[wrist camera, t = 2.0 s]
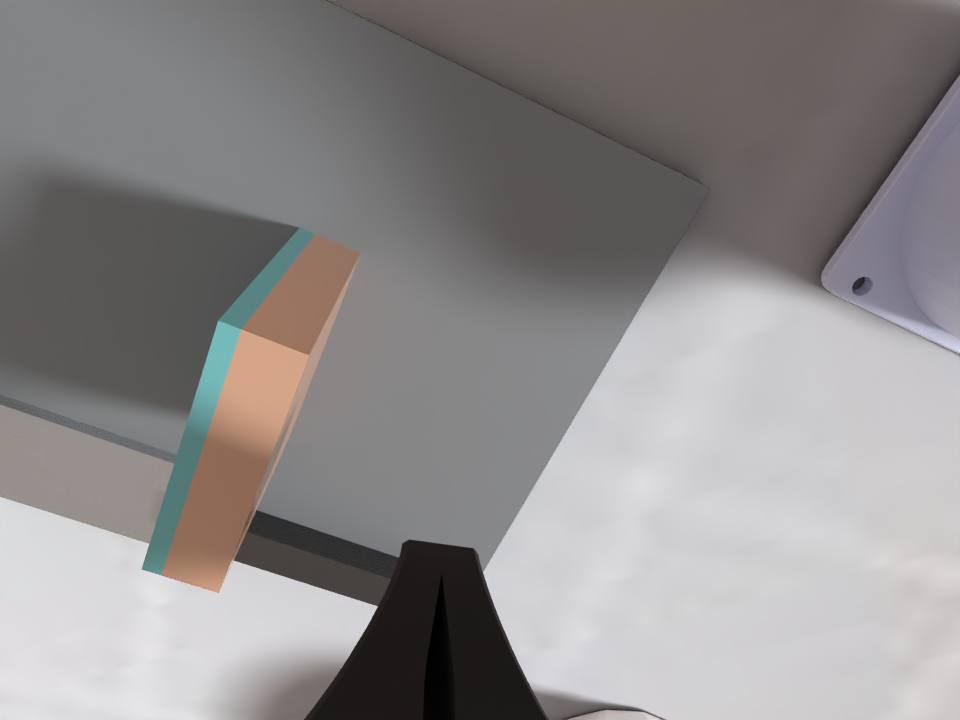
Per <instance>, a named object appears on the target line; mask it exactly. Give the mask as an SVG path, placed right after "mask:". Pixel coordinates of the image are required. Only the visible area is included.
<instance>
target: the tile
mask: <svg viewBox="0 0 960 720" xmlns="http://www.w3.org/2000/svg"><path fill="white" fill-rule="evenodd" d="M360 254H361V253H359V252H357V251H354V250H352V249H350V248H347V247H345V246H342V245H340V244H338V243H335V242H333V241H330V240H328V239H326V238H323V237H321V236H319V235H316V234H314V233H311V232H309V231H307V230H304V229H302V228H299V229H298V230H297V231H296V233H295V234H294V235H293V236H292V237H291V238H290V239H289V241H288V242H287V243H286V244H285V245H284V246H283V247H282V249H281V250H280V251H279V252H278V253H277V254H276V255H275V257H274V258H273V259H272V260H271V261H270V262H269V263H268V265H267V266H266V267H265V268H264V269H263V270H262V271H261V272H260V274H259V275H258V276H257V277H256V278H255V279H254V280H253V282H252V283H251V284H250V285H249V286H248V287H247V288H246V290H245V291H244V292H243V293H242V294H241V295H240V296H239V298H238V299H237V300H236V301H235V302H234V303H233V304H232V306H231V307H230V308H229V309H228V310H227V311H226V312H225V314H224V315H223V316H222V317H221V318H220V319H219V320H218V323H217V326H216V330H215V333H214V336H213V339H212V343H211V346H210V349H209V352H208V356H207V359H206V362H205V365H204V369H203V372H202V375H201V378H200V382H199V385H198V388H197V391H196V395H195V398H194V401H193V404H192V408H191V411H190V414H189V417H188V421H187V424H186V427H185V430H184V434H183V437H182V440H181V443H180V447H179V450H178V453H177V456H176V460H175V463H174V466H173V469H172V473H171V476H170V479H169V482H168V486H167V489H166V492H165V495H164V499H163V502H162V505H161V508H160V512H159V515H158V518H157V521H156V525H155V528H154V531H153V534H152V538H151V541H150V544H149V547H148V551H147V554H146V557H145V560H144V564H143V567H142V570H146V571H149V572H152V573H155V574H159V575H162V576H165V577H168V578H172V579H175V580H178V581H181V582H185V583H188V584H191V585H194V586H198V587H201V588H204V589H207V590H211V591H214V592H217V593H219V592H220V590H221V587H222V585H223V583H224V581H225V579H226V576H227V574H228V572H229V570H230V568H231V565H232V563H233V561H234V559H235V556H236V554H237V552H238V550H239V548H240V545H241V543H242V541H243V539H244V537H245V534H246V532H247V530H248V528H249V525H250V523H251V521H252V519H253V517H254V514H255V512H256V510H257V508H258V505H259V503H260V501H261V499H262V497H263V494H264V492H265V490H266V488H267V486H268V483H269V481H270V479H271V477H272V474H273V472H274V470H275V468H276V466H277V463H278V461H279V459H280V457H281V455H282V452H283V450H284V448H285V446H286V443H287V441H288V439H289V437H290V434H291V432H292V429H293V426H294V424H295V421H296V419H297V416H298V414H299V411H300V408H301V406H302V403H303V401H304V398H305V395H306V393H307V390H308V388H309V385H310V383H311V380H312V377H313V375H314V372H315V370H316V367H317V365H318V362H319V359H320V357H321V354H322V352H323V349H324V347H325V344H326V341H327V339H328V336H329V334H330V331H331V328H332V326H333V323H334V321H335V318H336V316H337V313H338V310H339V308H340V305H341V303H342V300H343V298H344V295H345V292H346V290H347V287H348V285H349V282H350V279H351V277H352V274H353V272H354V269H355V267H356V264H357V261H358V259H359V256H360Z"/></svg>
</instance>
